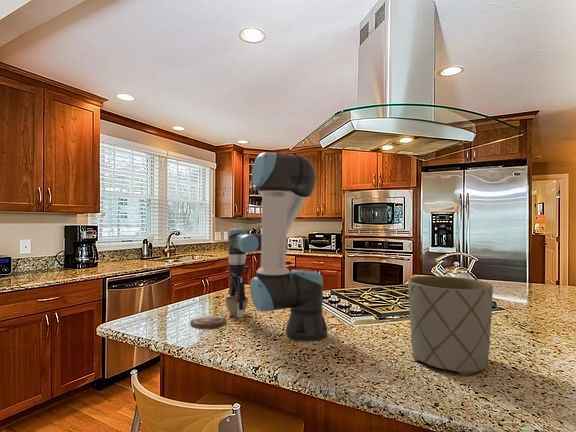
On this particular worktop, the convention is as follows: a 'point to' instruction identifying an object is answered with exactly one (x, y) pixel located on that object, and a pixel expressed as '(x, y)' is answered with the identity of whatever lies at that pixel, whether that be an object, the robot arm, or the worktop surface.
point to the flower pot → (234, 304)
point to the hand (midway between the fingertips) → (236, 313)
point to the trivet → (208, 321)
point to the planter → (450, 322)
